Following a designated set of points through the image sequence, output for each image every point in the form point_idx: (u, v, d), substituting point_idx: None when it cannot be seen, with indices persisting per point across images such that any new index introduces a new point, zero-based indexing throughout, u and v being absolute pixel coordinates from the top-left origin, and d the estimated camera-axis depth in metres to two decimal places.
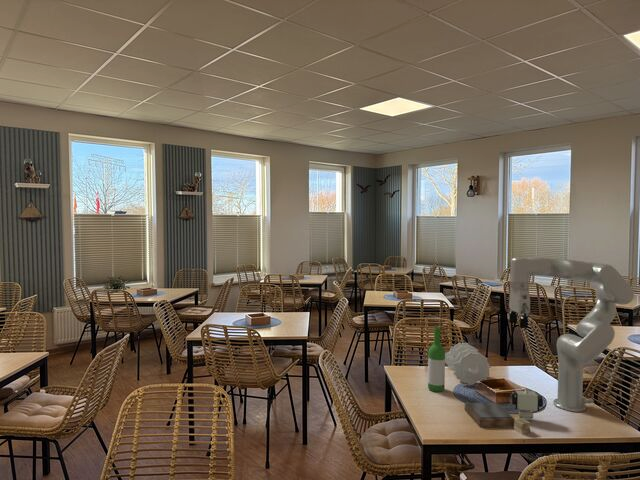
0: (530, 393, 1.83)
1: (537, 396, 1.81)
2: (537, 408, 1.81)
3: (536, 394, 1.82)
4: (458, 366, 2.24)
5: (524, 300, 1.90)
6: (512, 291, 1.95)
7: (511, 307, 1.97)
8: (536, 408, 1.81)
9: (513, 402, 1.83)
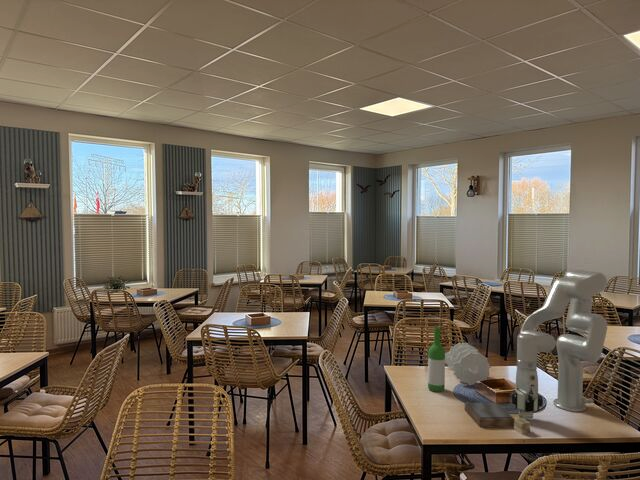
0: (530, 393, 1.84)
1: (537, 396, 1.81)
2: (537, 408, 1.81)
3: None
4: (458, 366, 2.24)
5: (532, 381, 1.79)
6: (519, 370, 1.85)
7: (518, 386, 1.86)
8: (536, 408, 1.81)
9: (513, 402, 1.83)
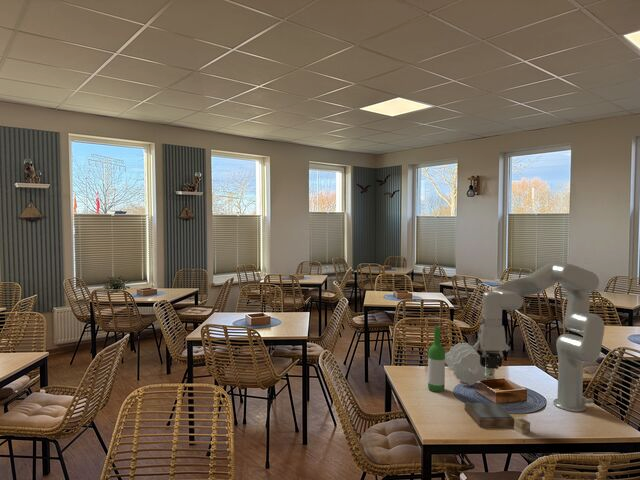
0: (490, 351, 1.83)
1: (486, 353, 1.81)
2: (485, 364, 1.81)
3: (489, 352, 1.81)
4: (458, 366, 2.24)
5: (479, 335, 1.84)
6: None
7: None
8: (485, 364, 1.81)
9: None
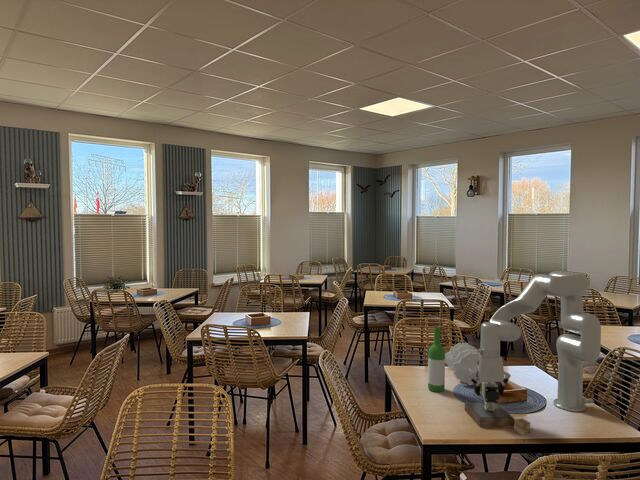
0: (489, 384, 1.83)
1: (485, 387, 1.81)
2: (485, 399, 1.82)
3: (488, 386, 1.81)
4: (458, 366, 2.24)
5: (477, 366, 1.84)
6: None
7: None
8: (484, 398, 1.82)
9: None
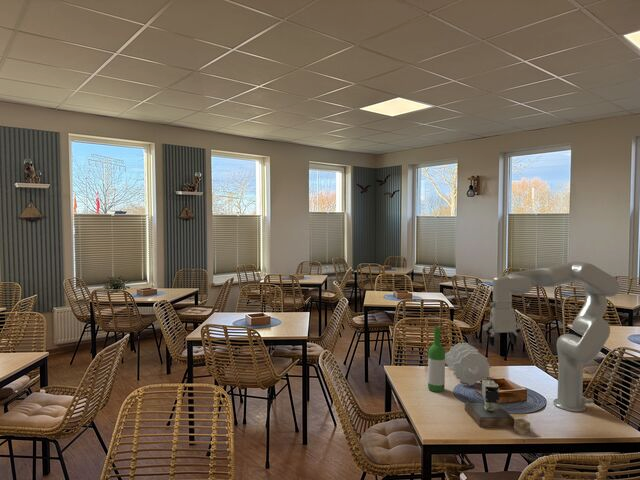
0: (489, 384, 1.83)
1: (485, 387, 1.81)
2: (485, 399, 1.81)
3: (489, 386, 1.81)
4: (458, 366, 2.24)
5: (491, 318, 1.94)
6: None
7: None
8: (485, 398, 1.82)
9: None
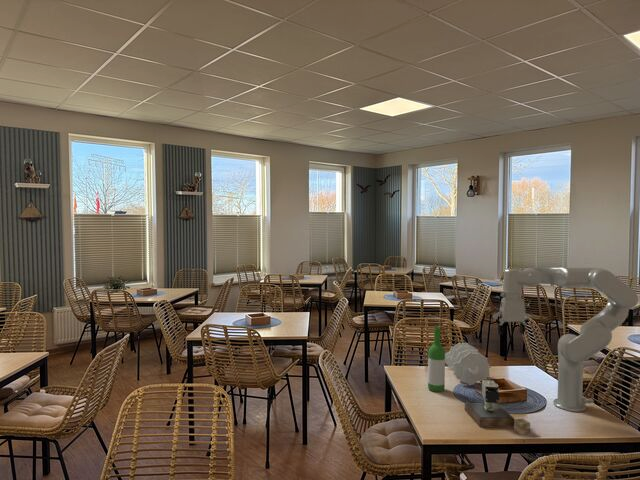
0: (489, 384, 1.83)
1: (485, 387, 1.81)
2: (485, 399, 1.81)
3: (489, 386, 1.81)
4: (458, 366, 2.24)
5: (501, 307, 2.03)
6: None
7: None
8: (485, 398, 1.82)
9: None
